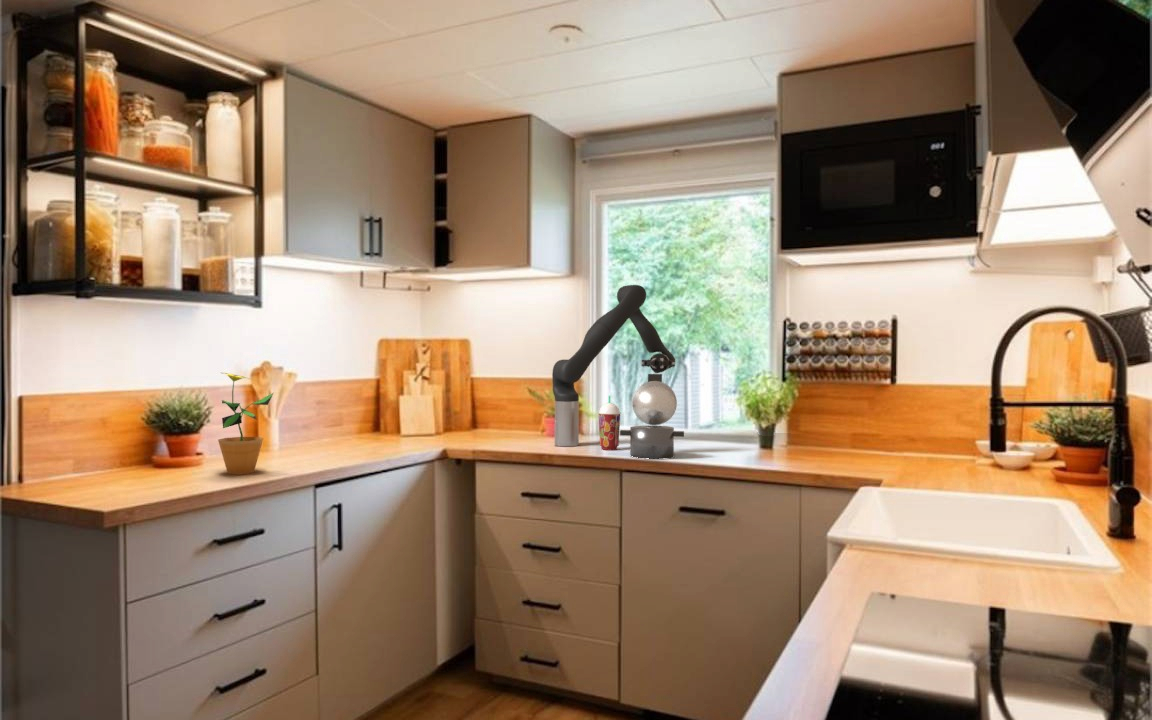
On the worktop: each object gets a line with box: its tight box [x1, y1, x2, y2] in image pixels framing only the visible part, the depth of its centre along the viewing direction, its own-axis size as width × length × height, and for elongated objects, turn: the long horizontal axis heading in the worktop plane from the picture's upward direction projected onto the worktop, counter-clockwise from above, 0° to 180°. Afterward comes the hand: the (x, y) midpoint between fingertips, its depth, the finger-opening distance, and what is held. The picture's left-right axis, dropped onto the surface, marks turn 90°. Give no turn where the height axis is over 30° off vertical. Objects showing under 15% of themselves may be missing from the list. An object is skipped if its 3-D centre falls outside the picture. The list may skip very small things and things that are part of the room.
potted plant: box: [217, 372, 274, 475], centre depth 229 cm, size 18×19×30 cm
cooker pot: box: [619, 425, 685, 460], centre depth 268 cm, size 17×22×10 cm
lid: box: [631, 373, 678, 426], centre depth 279 cm, size 19×16×2 cm
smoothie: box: [597, 395, 622, 451], centre depth 286 cm, size 8×8×20 cm
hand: (656, 363), depth 288 cm, fingers closed
